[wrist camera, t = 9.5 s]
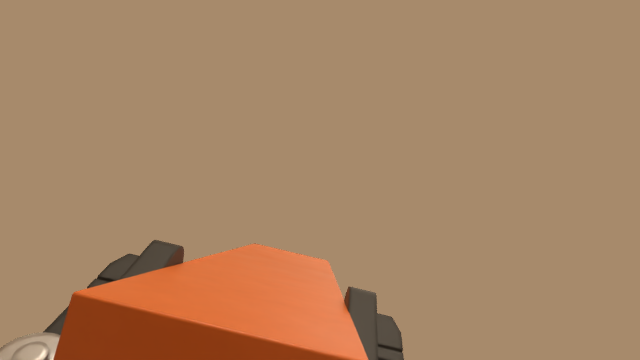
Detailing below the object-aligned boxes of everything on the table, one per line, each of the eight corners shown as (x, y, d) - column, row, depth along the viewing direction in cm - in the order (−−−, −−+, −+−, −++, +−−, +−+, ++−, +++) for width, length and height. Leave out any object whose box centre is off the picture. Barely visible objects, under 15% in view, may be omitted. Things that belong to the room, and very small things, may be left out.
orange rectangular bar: (-3, 545, 6) (71, 290, 6) (239, 302, 25) (254, 243, 25) (316, 624, 6) (371, 362, 6) (314, 320, 25) (328, 260, 25)
